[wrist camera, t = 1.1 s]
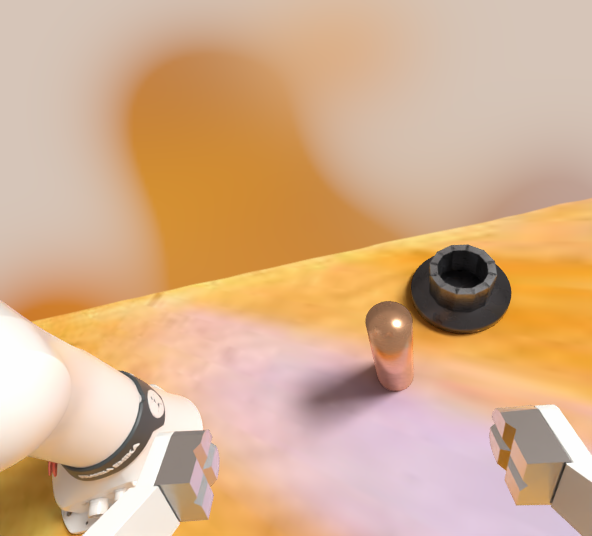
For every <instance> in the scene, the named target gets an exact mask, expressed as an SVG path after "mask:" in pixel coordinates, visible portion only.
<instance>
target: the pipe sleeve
mask: <svg viewBox="0 0 592 536" xmlns="http://www.w3.org/2000/svg"><path fill="white" fill-rule="evenodd" d="M411 294H412V300H413V303H414V306H415V308H416V309H417V311H418V313H419V314H420V315H421V316H422V317H423V318H424V319H425V320H426V321H427V322H429V323H430V324H432V325H433V326H435V327H437V328H439V329H442V330H444V331H448V332H452V333H459V334H470V333H477V332H480V331H484V330H486V329H489V328H490V327H492V326H494V325H495V324H496V323H498V322H499V321H500V320H501V319H502V318H503V316H504V315H505V313H506V311H507V309H508V306H509V303H510V299H511V287H510V283H509V281H508V279H507V277H506V275H505V274H504V272H503V271H502V270H501V269H500V268H499V267H498V266H497V265H496V264H495V261H494V260H493V259H492V258H491V257H490V256H489V255H488V254H487V253H486V252H485V251H484V250H481V249H478V248H476V247H473V246H470V245H450V246H449V247H447V248H445V249H443V250H440V251H438V252H437V253H436V255H435V256H433V257H431V258H429V259H428V260H426V261H425V262H424V263H423V264H421V265H420V266H419V268H418V269H417V270H416V272H415V274H414V276H413V279H412V284H411Z"/></svg>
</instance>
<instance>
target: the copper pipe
mask: <svg viewBox="0 0 592 536" xmlns="http://www.w3.org/2000/svg"><path fill="white" fill-rule="evenodd" d="M366 327H367V332H368V336H369V341H370V345H371V350H372V354H373V359H374V363H375V367H376V372H377V376H378V380H379V382H380V383H381V384H382V386H384V387H385V388H386V389H388V390H391V391H402V390H404V389H406V388H407V387H409V385H410V384H411V383H412V380H413V330H412V317H411V314H410V312H409V311H408V309H407V308H406V307H404V306H403V305H401V304H399V303H396V302H391V301H386V302H381V303H378V304H376V305H375V306H373V307H372V308H371V309H370V310H369V312H368V314H367V316H366Z"/></svg>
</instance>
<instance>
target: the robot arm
mask: <svg viewBox="0 0 592 536" xmlns="http://www.w3.org/2000/svg"><path fill="white" fill-rule="evenodd" d="M492 418H493V420H494V423H495V424H494V425H493V426H492V427H491V428H490V434H489V438H490V445H491V448H492V452H493V455H494V457H495V459H496V462H497V464H499V465H500V466H501V467H502V468H504V469H505V470H506V475H505V482H506V484H507V486H508V488H509V491H510V493H511V495H512V497H513V499H514V501H515V504H516V505H551V507H552V508H553V509H554V510H555V511H556V512H557V513H558V514H560V515H561V516H562V517H563V518H564V519H565V520H566V521H567V522H568V523H569V524H570V525H571V526H572V527H573V528H574V529H576V530H577V531H578V532H579V533H580V534H581V535H582V536H592V455H591V454H590V452H589V451H588V450H587V448H586V447H585V445H584V444H583V442H582V441H581V439H580V438H579V437H578V435H577V434H576V432H575V431H574V429H573V428H572V426H571V425H570V424H569V422H568V421H567V419H566V418H565V416H564V415H563V414H562V412H561V411H560V409H559V408H558V407H557V406H555V405H552V404H550V405H539V406H520V407H509V408H497V409H495V410H494V411H493V415H492ZM211 440H212V435H211V433H210V431H209V430H203V425H202V420H201V416H200V414H199V411H198V409H197V408H196V406H195V405H194V404H193V403H192V402H191V401H190V400H188V399H187V398H185V397H183V396H180V395H175V394H171V393H168V392H165V391H164V390H163V389H162V388H160V387H159V386H156V385H154V384H151V385H148V384H147V383H145V382H144V381H142V380H140V379H138V378H137V377H135V376H134V375H132V374H130V373H127V372H124V371H118V370H116V369H114V368H113V367H111V366H109V365H108V364H106V363H104V362H103V361H101V360H99V359H98V358H96V357H94V356H93V355H91V354H89V353H88V352H86V351H84V350H82V349H78V348H76V347H74V346H72V345H70V344H68V343H66V342H64V341H62V340H60V339H59V338H57V337H55V336H53V335H51V334H50V333H48V332H46V331H44V330H43V329H41V328H40V327H38V326H36V325H35V324H33V323H32V322H30V321H29V320H28V319H26V318H25V317H23V316H22V315H20V314H19V313H18V312H16V311H15V310H13V309H12V308H11V307H9V306H8V305H6V304H5V303H4V302H3V301H1V300H0V472H1V471H3V470H5V469H7V468H9V467H11V466H13V465H15V464H16V463H18V462H20V461H21V460H23V459H24V458H26V457H27V456H28V457H33V458H37V459H41V460H46V461H49V462H48V473H49V476H50V475H51V473H52V472H53V473H52V483H53V493H54V498H55V501H56V503H57V505H58V506H59V507H60V508H61V512H62V517H63V520H64V523H65V525H66V527H67V529H68V530H69V532H70V533H73V534H81V533H84V534H83V535H82V536H171V535H172V534H173V533H174V531H175V530H176V528H177V527H178V526H179V524H180V523H179V522H182V521H195V520H208V519H209V514H210V510H211V505H212V501H213V496H214V495H213V492H212V490H211V488H210V487H211V486H212V485H213V484H214V482H215V481H216V480H217V477H218V472H219V453H218V450H217V447H216V446H215V445H214V444H212V443H211ZM71 512H72V514H71V515H70V513H71Z"/></svg>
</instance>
